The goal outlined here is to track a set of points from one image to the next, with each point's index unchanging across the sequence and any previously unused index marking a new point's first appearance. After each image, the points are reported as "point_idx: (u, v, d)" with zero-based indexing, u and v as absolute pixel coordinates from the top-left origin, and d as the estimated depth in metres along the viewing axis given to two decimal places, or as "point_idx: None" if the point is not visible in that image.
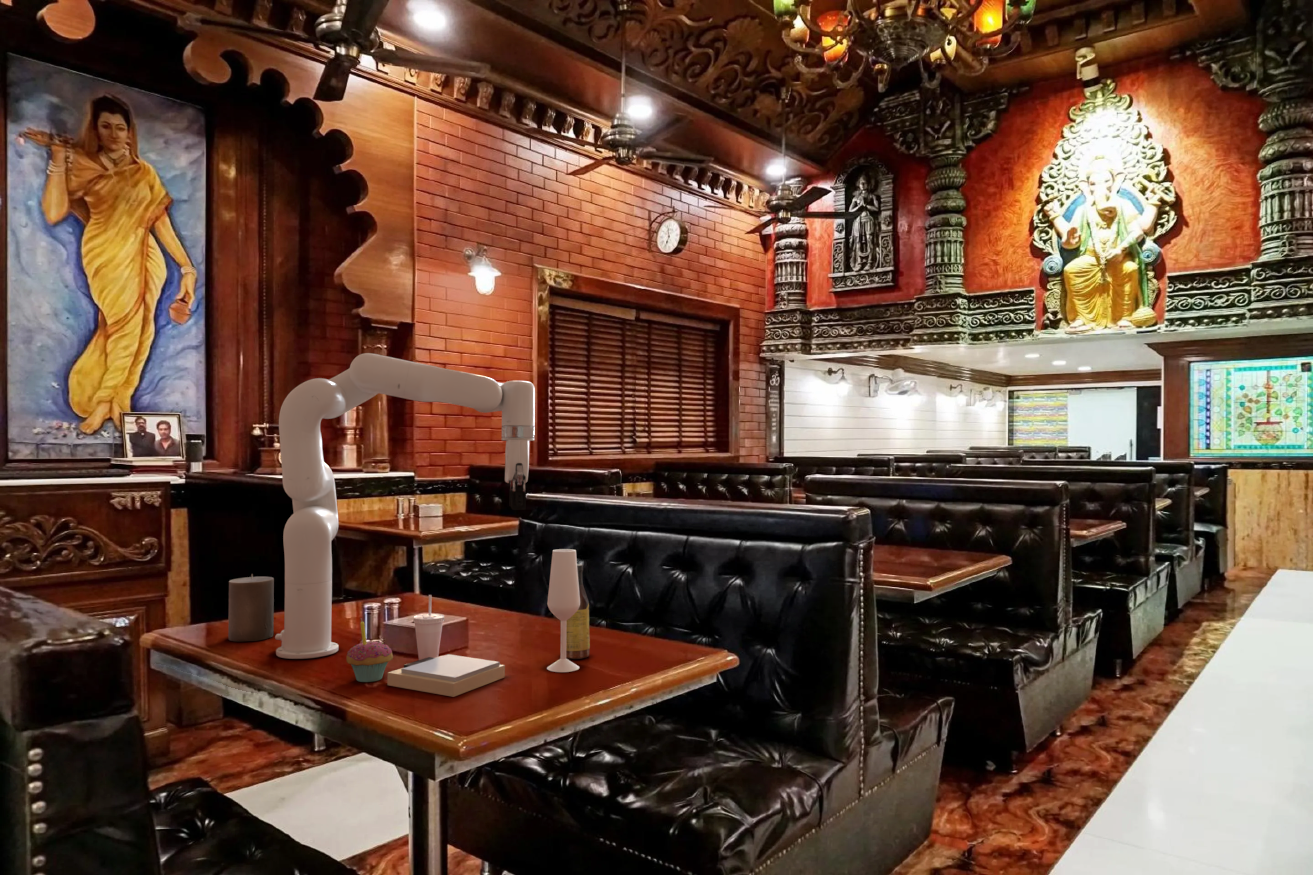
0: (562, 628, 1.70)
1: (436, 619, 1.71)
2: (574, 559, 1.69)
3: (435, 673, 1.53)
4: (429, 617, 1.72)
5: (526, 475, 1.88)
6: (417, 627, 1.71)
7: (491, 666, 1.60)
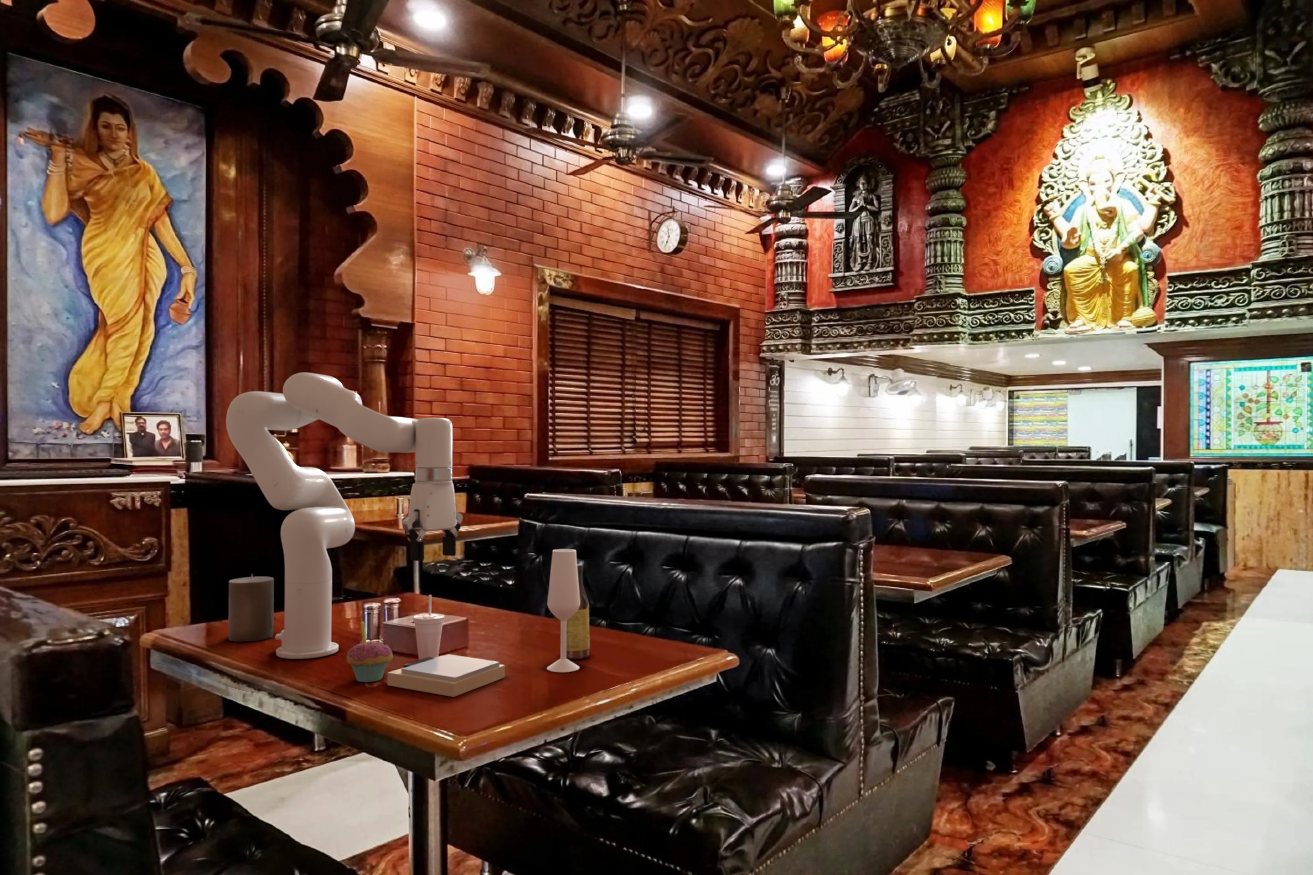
0: (562, 628, 1.70)
1: (436, 619, 1.71)
2: (574, 559, 1.69)
3: (435, 673, 1.53)
4: (429, 617, 1.72)
5: (423, 523, 1.69)
6: (417, 627, 1.71)
7: (491, 666, 1.60)
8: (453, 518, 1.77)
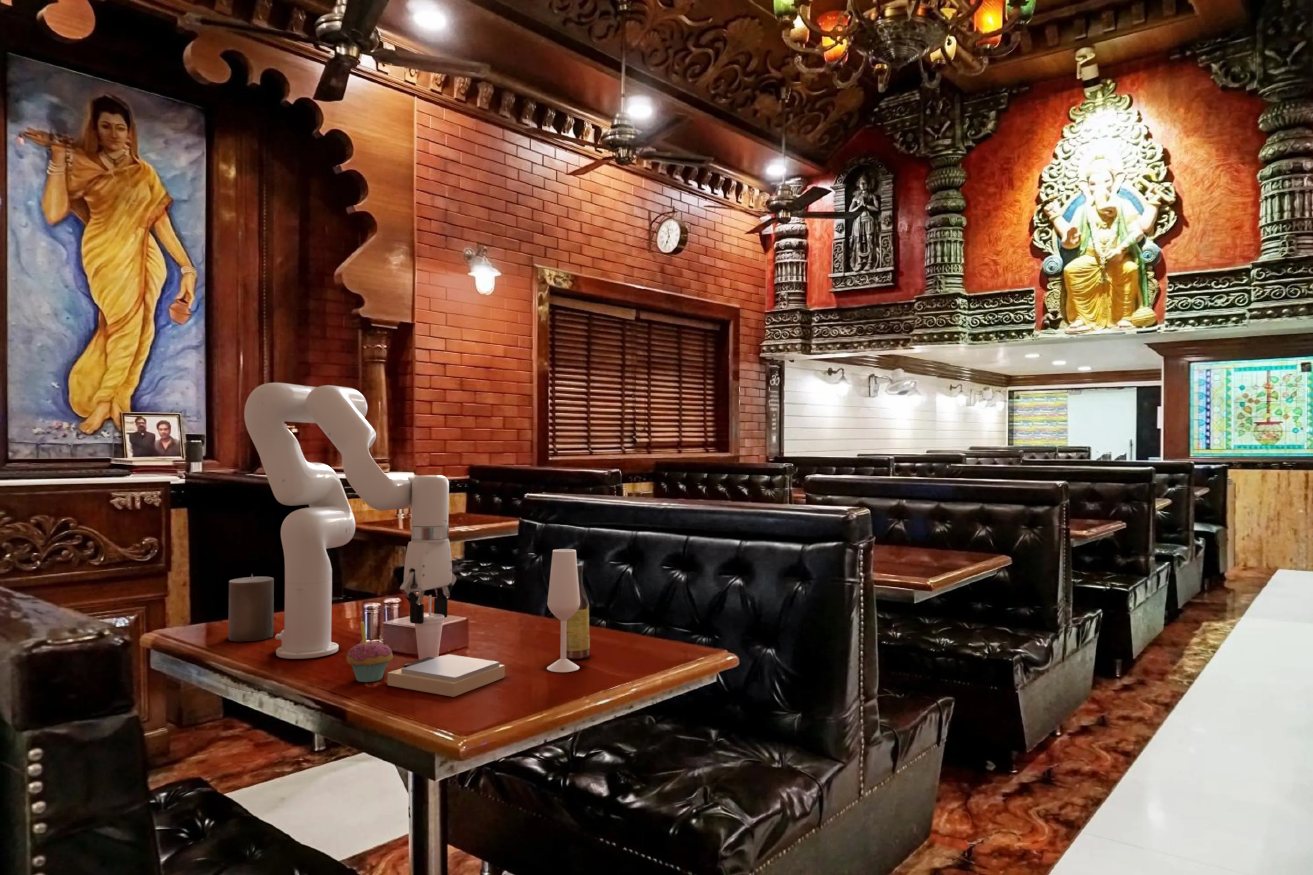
0: (562, 628, 1.70)
1: (436, 619, 1.71)
2: (574, 559, 1.69)
3: (435, 673, 1.53)
4: (429, 617, 1.72)
5: (418, 582, 1.69)
6: (417, 627, 1.71)
7: (491, 666, 1.60)
8: (449, 575, 1.76)
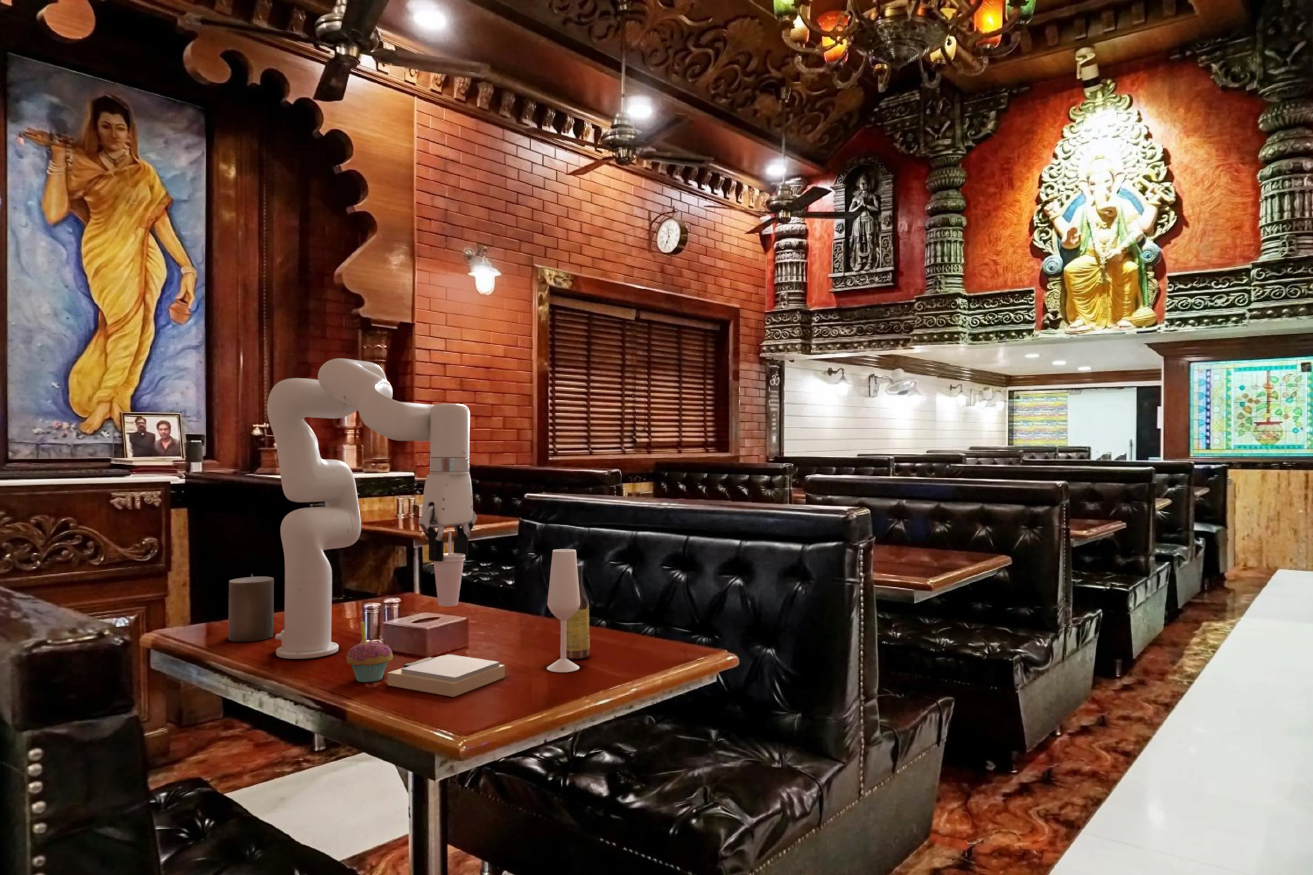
0: (562, 628, 1.70)
1: (457, 557, 1.60)
2: (574, 559, 1.69)
3: (435, 673, 1.53)
4: (449, 555, 1.60)
5: (438, 517, 1.57)
6: (437, 565, 1.60)
7: (491, 666, 1.60)
8: (470, 512, 1.64)
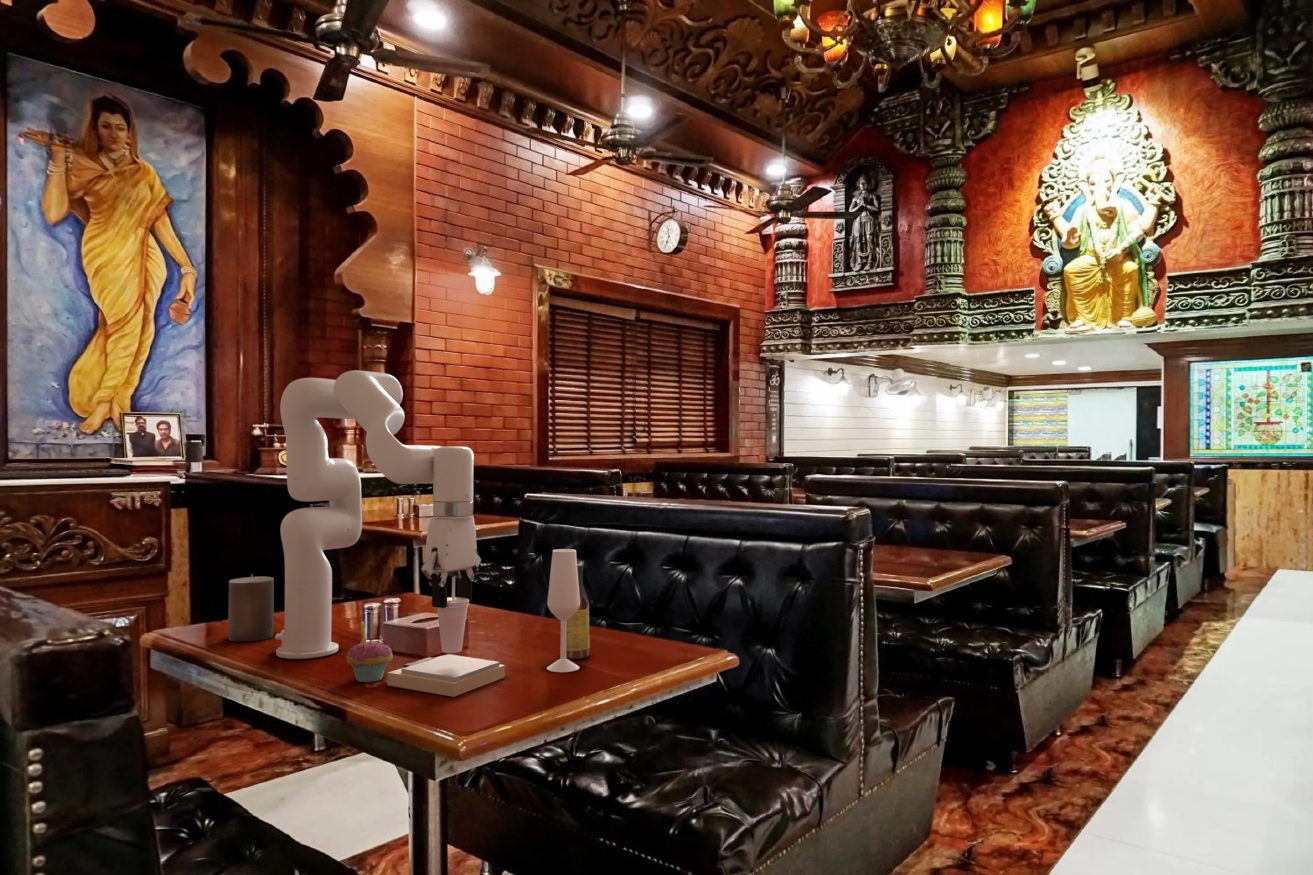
0: (562, 628, 1.70)
1: (460, 603, 1.57)
2: (574, 559, 1.69)
3: (435, 673, 1.53)
4: (453, 601, 1.58)
5: (442, 562, 1.54)
6: (440, 611, 1.57)
7: (491, 666, 1.60)
8: (474, 556, 1.62)
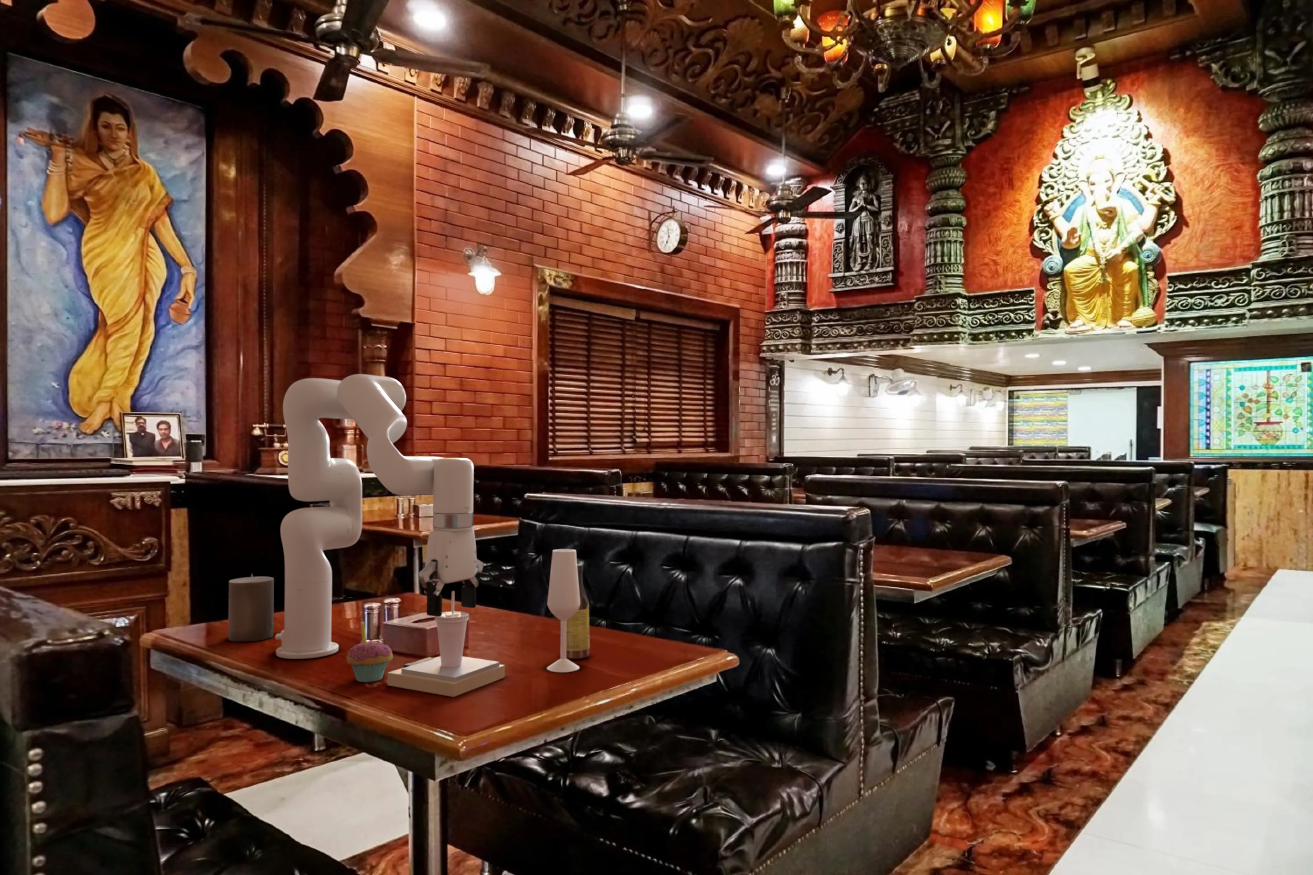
0: (562, 628, 1.70)
1: (460, 617, 1.57)
2: (574, 559, 1.69)
3: (435, 673, 1.53)
4: (452, 615, 1.58)
5: (441, 574, 1.54)
6: (440, 626, 1.57)
7: (491, 666, 1.60)
8: (473, 567, 1.62)
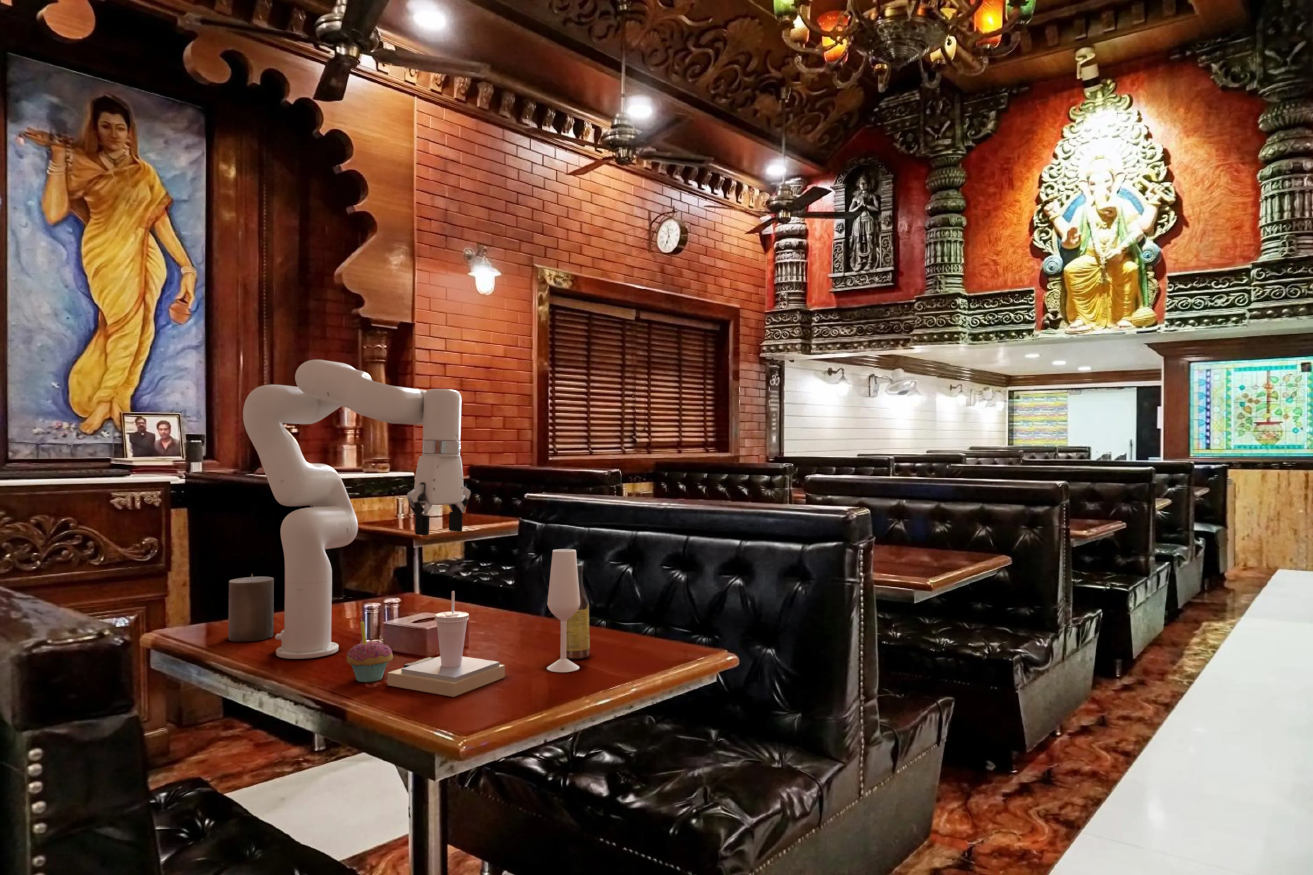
0: (562, 628, 1.70)
1: (460, 617, 1.57)
2: (574, 559, 1.69)
3: (435, 673, 1.53)
4: (452, 615, 1.58)
5: (429, 496, 1.65)
6: (440, 626, 1.57)
7: (491, 666, 1.60)
8: (460, 493, 1.72)
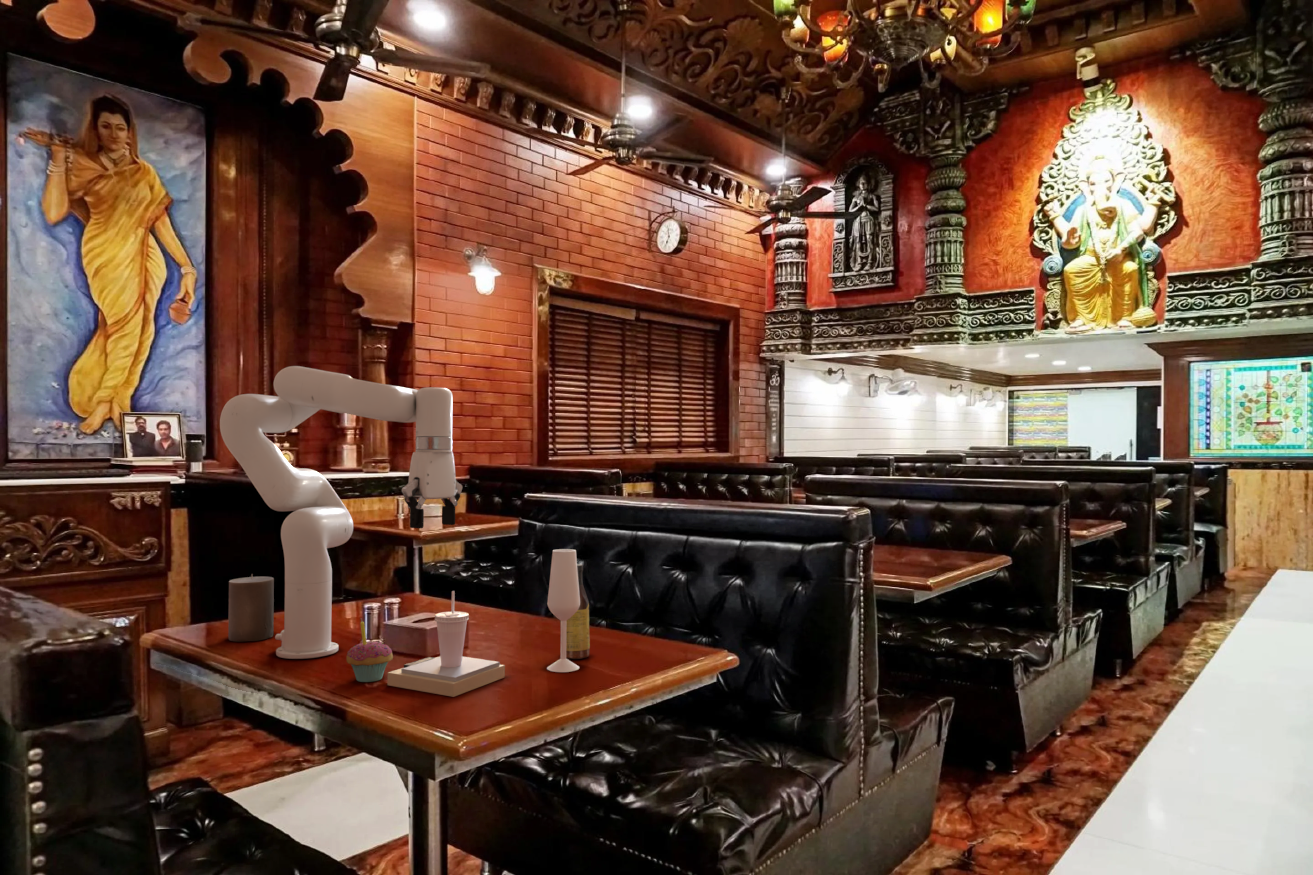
0: (562, 628, 1.70)
1: (460, 617, 1.57)
2: (574, 559, 1.69)
3: (435, 673, 1.53)
4: (452, 615, 1.58)
5: (423, 490, 1.71)
6: (440, 626, 1.57)
7: (491, 666, 1.60)
8: (453, 487, 1.79)
